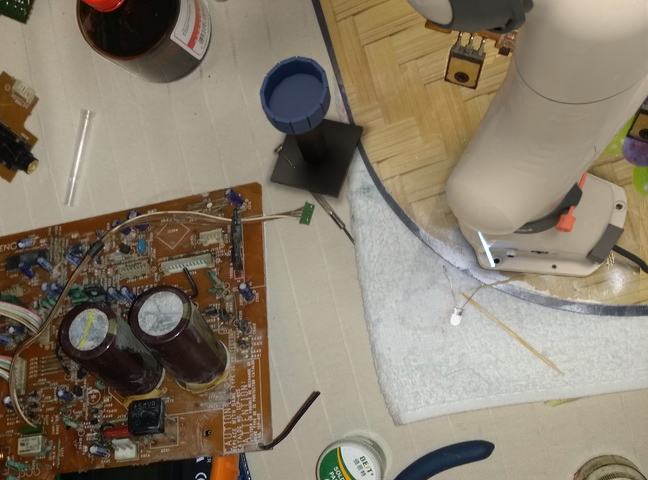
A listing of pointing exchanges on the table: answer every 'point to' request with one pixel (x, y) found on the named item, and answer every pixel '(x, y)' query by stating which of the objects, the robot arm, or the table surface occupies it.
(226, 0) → the light bulb
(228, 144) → the table surface
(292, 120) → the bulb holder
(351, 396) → the table surface
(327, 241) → the table surface
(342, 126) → the stand
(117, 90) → the table surface
